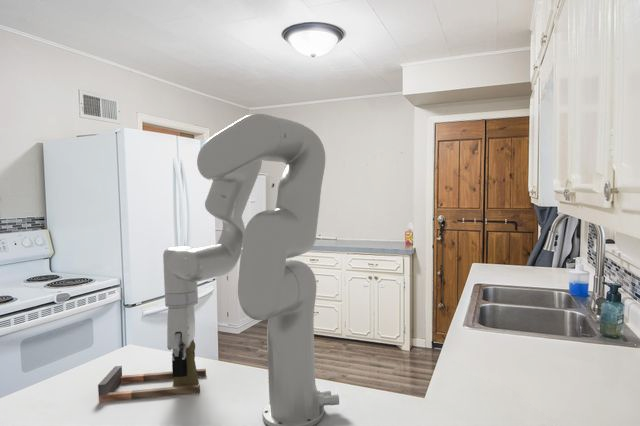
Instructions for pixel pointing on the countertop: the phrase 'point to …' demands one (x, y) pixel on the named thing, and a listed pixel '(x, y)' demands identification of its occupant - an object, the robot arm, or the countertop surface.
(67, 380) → the countertop surface
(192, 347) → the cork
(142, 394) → the guide channel
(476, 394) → the countertop surface
